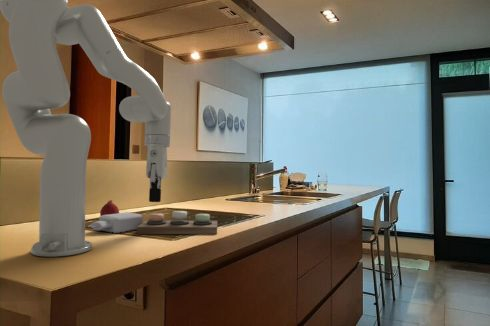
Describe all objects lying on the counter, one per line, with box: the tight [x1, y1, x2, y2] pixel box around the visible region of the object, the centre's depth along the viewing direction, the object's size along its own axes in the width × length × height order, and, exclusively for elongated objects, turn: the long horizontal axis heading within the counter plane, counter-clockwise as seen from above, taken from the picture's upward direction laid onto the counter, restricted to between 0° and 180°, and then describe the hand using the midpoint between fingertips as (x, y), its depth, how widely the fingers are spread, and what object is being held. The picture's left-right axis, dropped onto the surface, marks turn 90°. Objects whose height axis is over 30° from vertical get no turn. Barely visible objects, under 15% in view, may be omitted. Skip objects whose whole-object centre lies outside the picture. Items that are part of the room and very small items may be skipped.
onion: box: [99, 199, 120, 217], centre depth 121 cm, size 6×6×8 cm
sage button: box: [194, 213, 211, 222], centre depth 113 cm, size 4×4×2 cm
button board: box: [136, 219, 218, 235], centre depth 112 cm, size 12×23×3 cm, turn 94°
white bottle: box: [87, 211, 144, 234], centre depth 110 cm, size 5×9×15 cm
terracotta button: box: [148, 212, 165, 221], centre depth 112 cm, size 4×4×2 cm
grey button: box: [171, 210, 188, 220], centre depth 112 cm, size 4×4×2 cm
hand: (154, 201), depth 111 cm, fingers closed
